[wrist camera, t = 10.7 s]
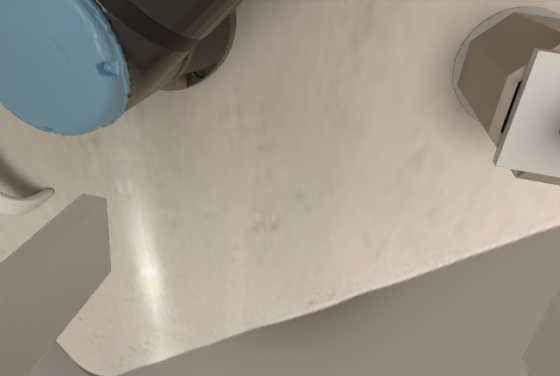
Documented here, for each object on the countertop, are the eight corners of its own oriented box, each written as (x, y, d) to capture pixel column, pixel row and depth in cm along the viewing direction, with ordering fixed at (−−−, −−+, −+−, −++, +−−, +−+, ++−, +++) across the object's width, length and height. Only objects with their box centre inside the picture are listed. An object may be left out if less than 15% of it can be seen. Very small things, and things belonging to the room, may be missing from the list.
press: (439, 114, 50) (466, 181, 35) (473, -2, 44) (522, 21, 30) (580, 138, 48) (668, 217, 34) (633, 20, 43) (765, 56, 29)
